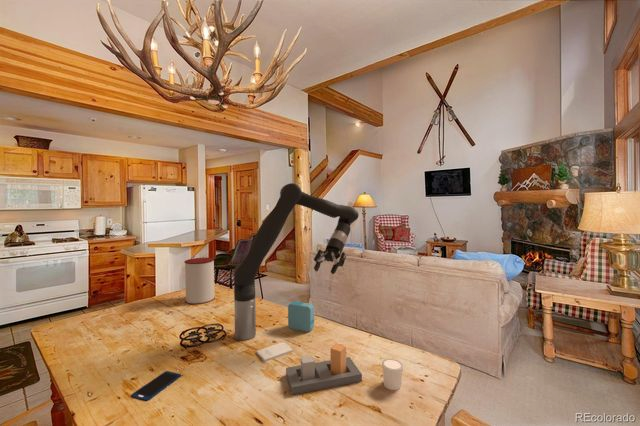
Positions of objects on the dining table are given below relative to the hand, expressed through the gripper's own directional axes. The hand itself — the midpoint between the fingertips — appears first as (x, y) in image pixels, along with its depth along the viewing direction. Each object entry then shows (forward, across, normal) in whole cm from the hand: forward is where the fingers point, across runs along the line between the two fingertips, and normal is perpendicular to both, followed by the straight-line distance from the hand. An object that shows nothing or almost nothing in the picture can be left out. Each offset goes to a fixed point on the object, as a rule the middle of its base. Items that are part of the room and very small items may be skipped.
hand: (323, 271), depth 123 cm
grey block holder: (+37, +14, +6) cm, 40 cm away
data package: (+19, -16, +25) cm, 35 cm away
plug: (+34, +18, +9) cm, 40 cm away
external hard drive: (+36, -12, +9) cm, 38 cm away
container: (+21, -94, +23) cm, 99 cm away
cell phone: (+62, -30, -17) cm, 71 cm away
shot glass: (+30, +35, +13) cm, 48 cm away
